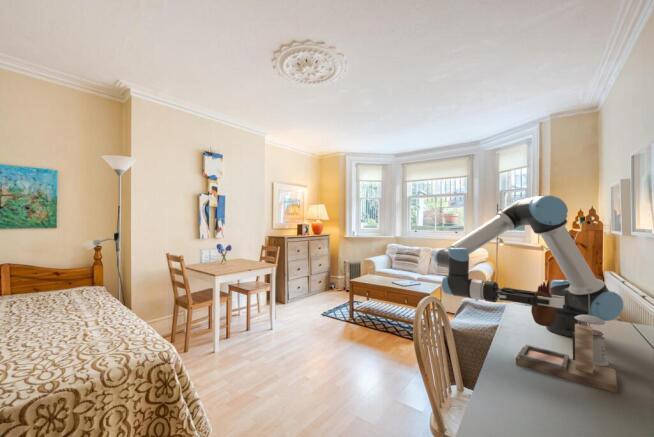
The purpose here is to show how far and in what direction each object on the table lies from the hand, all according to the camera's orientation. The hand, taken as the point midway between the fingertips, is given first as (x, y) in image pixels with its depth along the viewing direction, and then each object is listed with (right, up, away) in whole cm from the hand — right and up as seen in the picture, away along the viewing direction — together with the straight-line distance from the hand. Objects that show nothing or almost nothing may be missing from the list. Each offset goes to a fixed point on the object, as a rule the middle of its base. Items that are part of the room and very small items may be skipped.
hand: (563, 302), depth 93 cm
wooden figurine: (-4, -9, +3) cm, 10 cm away
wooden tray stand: (0, -22, -1) cm, 22 cm away
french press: (+16, -22, +8) cm, 29 cm away
